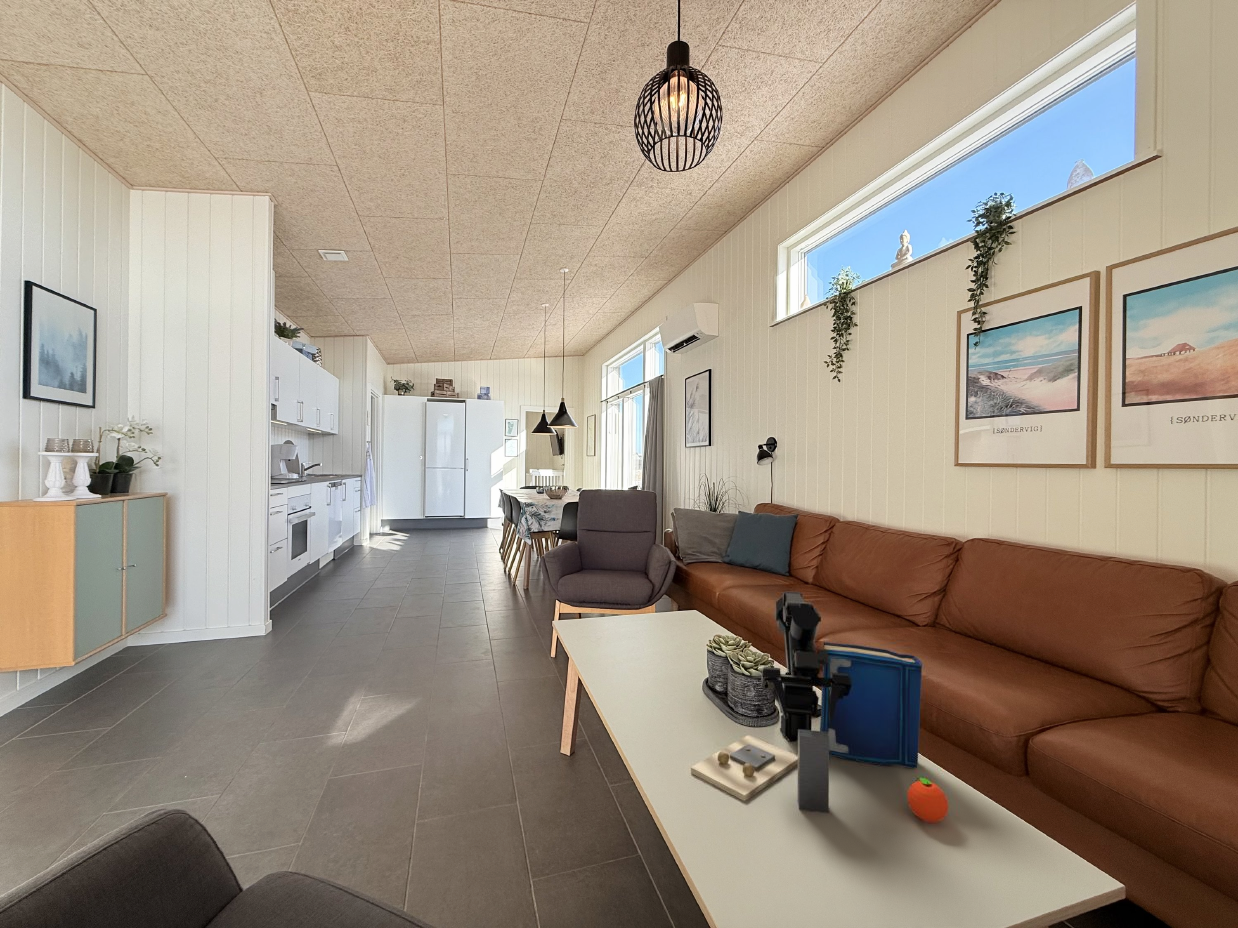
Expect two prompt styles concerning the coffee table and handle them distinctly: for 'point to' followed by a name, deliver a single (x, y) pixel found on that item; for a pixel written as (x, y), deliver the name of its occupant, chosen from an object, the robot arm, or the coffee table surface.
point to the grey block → (813, 771)
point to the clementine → (927, 801)
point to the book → (874, 705)
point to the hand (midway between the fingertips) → (808, 720)
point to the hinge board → (736, 769)
